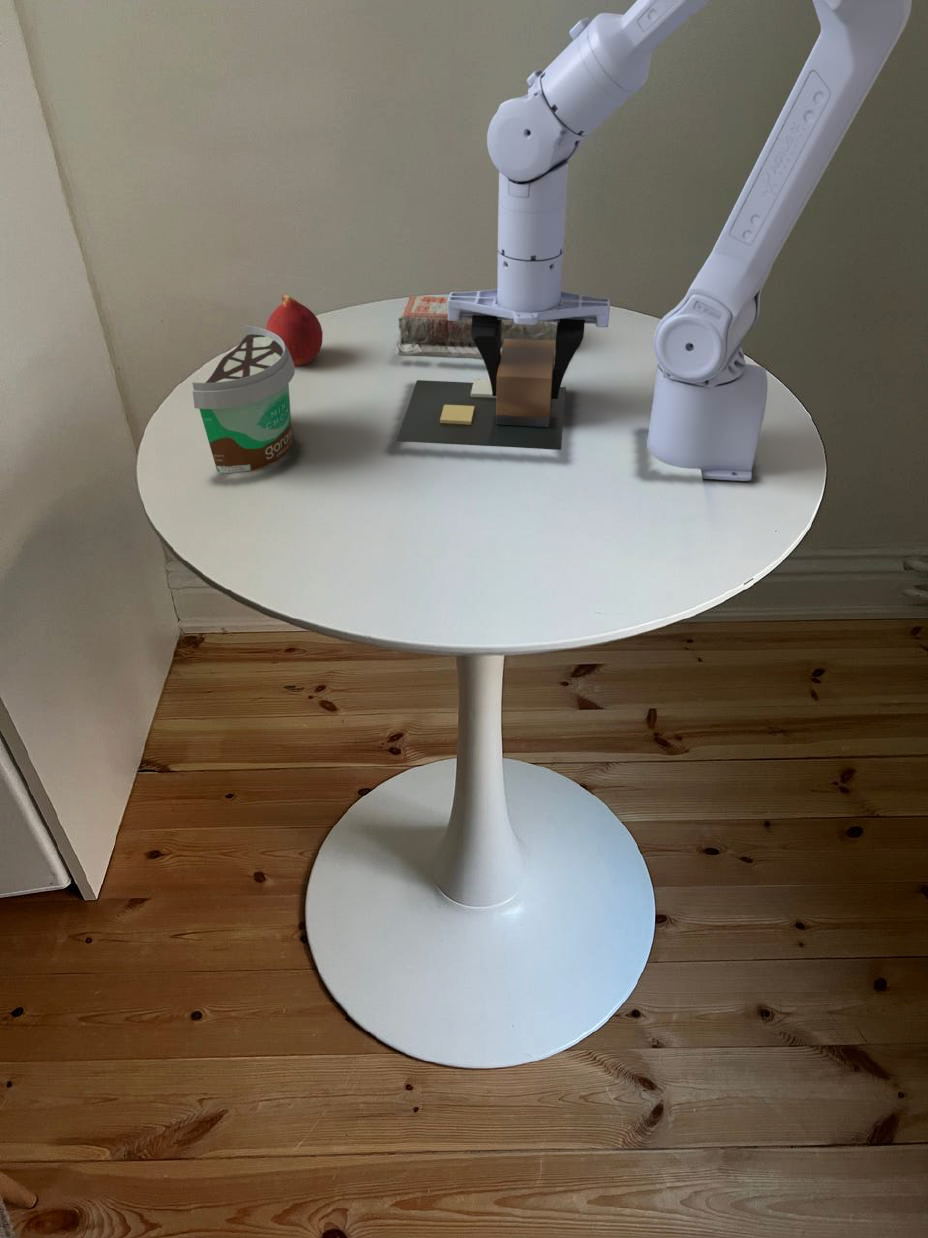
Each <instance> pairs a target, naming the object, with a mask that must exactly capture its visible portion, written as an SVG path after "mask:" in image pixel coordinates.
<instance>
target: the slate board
mask: <svg viewBox="0 0 928 1238" xmlns="http://www.w3.org/2000/svg"><path fill="white" fill-rule="evenodd" d="M473 383H474V382H466V381H448V380H447V381H443V380H424V379H423V380H422V379H417V380H416V381H415V385H414V387H413V391H412V394H411V396H410V400H409V402H408V406H407V407H406V411H405V414H404V416H403V420H402V423H401V426H400V429H399V432H398V435H397V438H396V440H395V441H396V442H401V443H402V442H405V443H420V444H421V443H423V444H439V445H440V444H442V445H443V444H445V445H458V446H459V445H460V446H461V445H462V446H481V447H496V448H497V447H499V448H518V449H519V448H520V449H535V450H537V449H539V450H555V451H560V450H562V438H563V426H564V414H565V413H564V412H565V399H566V389H567V388H566V386H560V389H559V394H558V399H552V401H551V411H550V421H549V427H534V426H515V425H497V424H496V398H485V397H471V391H472V387H473ZM444 405H463V406H475V411H474V415H473V419H472V424H471V425H467V424H447V423H440V418H441V415H442V411H443V407H444Z"/></svg>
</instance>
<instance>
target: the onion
mask: <svg viewBox="0 0 928 1238" xmlns="http://www.w3.org/2000/svg"><path fill="white" fill-rule="evenodd" d="M281 300H282V301H281V302H282V304H280V305H278V306H277V307H276V308H274V311H273V312H272V313H271V314H270V316H269V318H268V320H267V323H266V327H265V330H268V331H270V332H273V333H275V334H276V335H278V336H279V337H280V338H281V339H282V340H283V342H284V344H285V345H286V346H287V348H288V350H289V353H290V355H291V358H292V360H293V363H294V367H303V366H306V365H307V364H308V365H309V364H310V363H311V362H312V361H313V360H314V359H315V358H316V357H317V356H318V354H319V353H320V351H321V348H322V346H323V332H324V331H323V328H322V325H321V322H320V321H319V319H318V317H317V315H316V314H315V313H314V312H313V311H312V310H311V309H309V308H308V307H307V306H305V305H304V304H303V303H301V302H299V301H298V300H297V299H294V298H293V297H292V296H291V295H289V294H284V295H282V296H281Z"/></svg>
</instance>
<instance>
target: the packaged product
mask: <svg viewBox="0 0 928 1238" xmlns="http://www.w3.org/2000/svg"><path fill="white" fill-rule="evenodd" d="M448 298H449V296H448V297H446V296H433V295H432V296H428V295H415V296H409V297H408V298H407V301H406V304H405V305H404V307H402V311H401V313H400V315H399V317H398V330H399V337H398V341H397V343H396V346H395V352H394V353H395V354H396V355H397V356H405V357H430V358H431V357H432V358H447V359H473V360H483V358H482V356H481V354H480V352H479V350H478V348H477V346H476V345H475V343H474V341H473V339H472V336H471V328H472V319H466V318H460V320H459V321H448ZM556 331H557V322H539V321H538V323H537V324H535V325H522V324H516V323H514V320H502V327H501V353H502V348H503V343H504V339H528V340H551V341H556ZM555 346H556V344H555ZM554 363H555V361H554Z"/></svg>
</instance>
